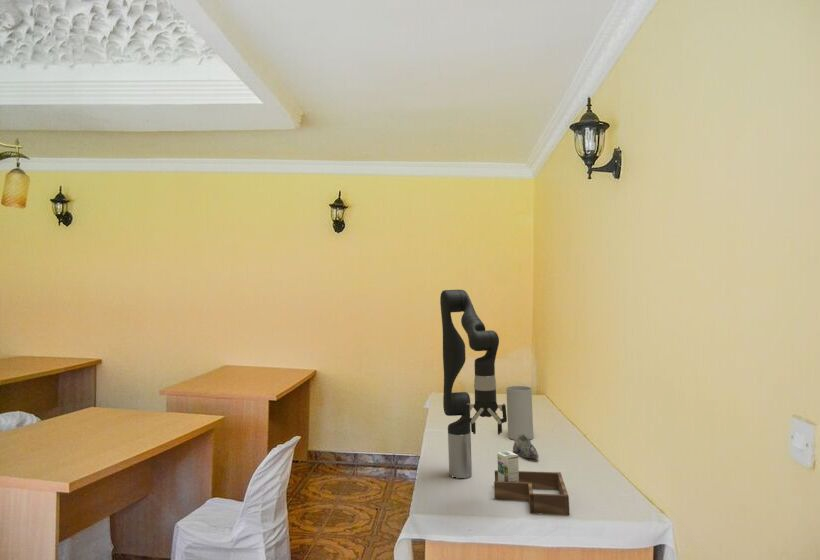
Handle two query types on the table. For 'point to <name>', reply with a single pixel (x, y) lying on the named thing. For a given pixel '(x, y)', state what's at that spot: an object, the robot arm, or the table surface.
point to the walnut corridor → (536, 501)
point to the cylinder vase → (519, 411)
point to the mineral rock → (524, 447)
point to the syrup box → (508, 466)
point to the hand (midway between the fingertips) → (486, 433)
